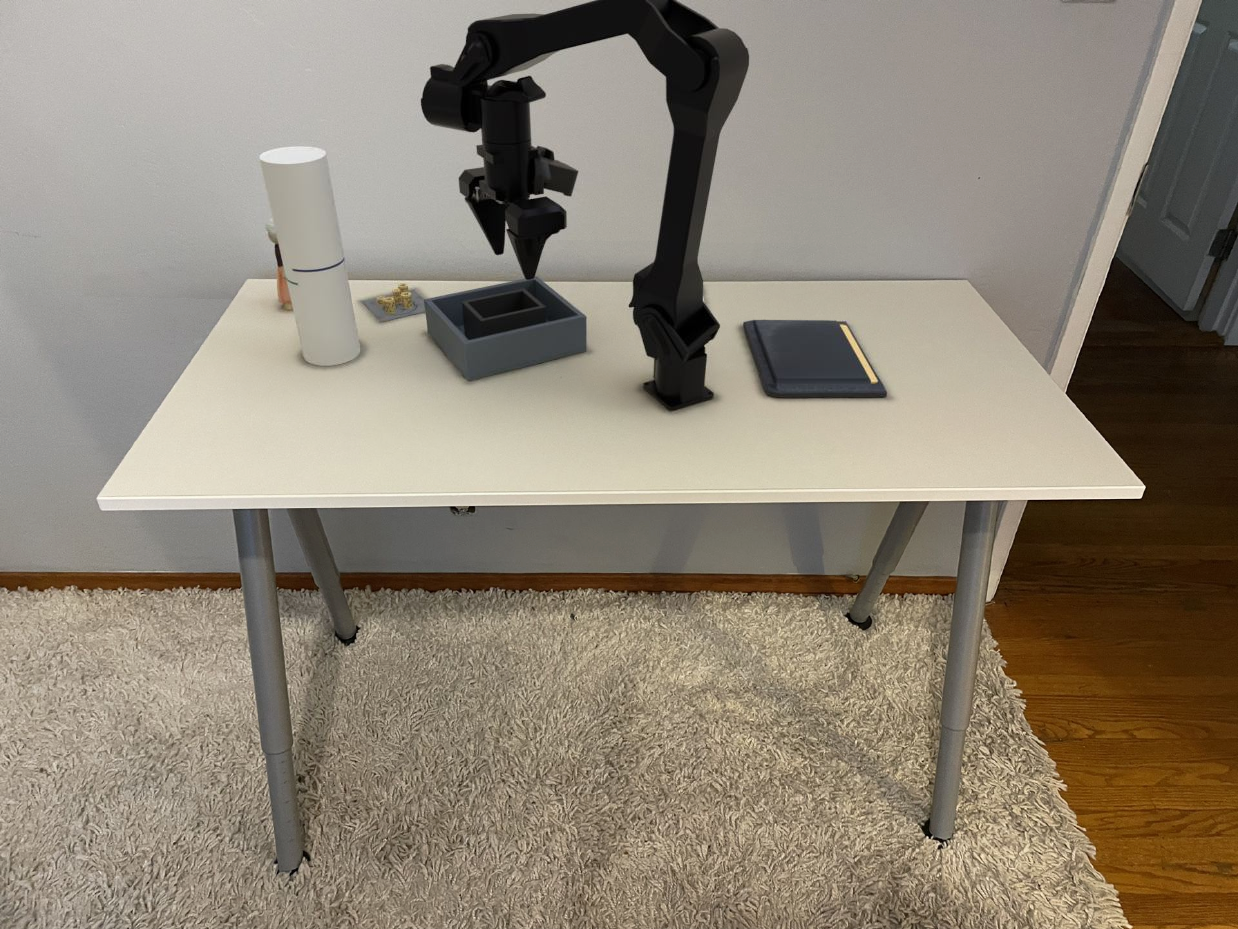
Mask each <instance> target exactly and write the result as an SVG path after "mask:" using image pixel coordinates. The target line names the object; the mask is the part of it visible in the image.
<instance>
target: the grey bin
mask: <svg viewBox="0 0 1238 929" xmlns="http://www.w3.org/2000/svg"><path fill="white" fill-rule="evenodd" d="M520 289H525V290H527V291H528V292H529V293H530V294H531V295H532V296H534V297H535V298H536V299H537V300H538V301H539V302H541V303H542V304H543V305H544V306H545V307H546V323H542V324H538V325H533V326H529V327H525V328H520V329H516V330H512V331H507V332H503V333H499V334H494V335H490V336H485V337H481V338H477V339H472V340H468V339H467V337H466V336H465V331H464V321H463V310H462V301H467V300H472V299H476V298H481V297H486V296H491V295H496V294H500V293H505V292H510V291H515V290H520ZM423 299H424V305H425V312H424V313H425V320H426V328H427V335H428V336H429V337H430V338H431V339H432V340H433V342H434V343H435V345H437V346H438V347H439V349H440V350H441V351H442V352H443V353H444V354H445V355H446V357H447V358H448V359H449V360H450V361H451V362H452V364H453V365H454V366H455V368H456V369H458V371H459V372H460V373H461V375H463V376H464V378H465V379H466V380H467V381H468V382H471V381H474V380H478V379H482V378H486V377H490V376H494V375H498V374H503V373H507V372H510V371H515V370H518V369H522V368H527V367H530V366H534V365H538V364H542V363H545V362H550V361H554V360H558V359H561V358H566V357H570V356H574V355H579V354H583V353H586V352H587V350H588V348H587V315H586V314H585V313H583V312H582V311H581V310H579V309H578V308H577V307H576V306H574V305H573V304H572V303H571V302H570V301H568V300H567V299H566V298H564V297H563V296H562V295H561V294H559V292H557V291H556V290H554V289H553V287H551V286H549V285H548V284H547V283H546V282H544V280H542V279H541V278H540V277H539V276H537V275H535V278H534V279H531V280H526V279H525V278H522V279H517V280H511V281H507V282H502V283H496V284H492V285H488V286H483V287H477V288H472V289H468V290H463V291H458V292H453V293H448V294H444V295H443V294H442V295H438V296H432V297H429V298H423Z"/></svg>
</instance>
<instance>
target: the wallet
mask: <svg viewBox="0 0 1238 929" xmlns="http://www.w3.org/2000/svg"><path fill="white" fill-rule="evenodd" d="M742 328H743V331H744V334H745V337H746V340H747V343H748V345H749V348H750V351H751V353H752V356H753V359H754V362H755V364H756V368H757V372H758V374H759V378H760V382H761V385H762V388H763V390H764V392H765V394H766V395H767V396H771V397H775V398H887V396H888V392H887V390H886V389H887V388H886V387H885V385H884V383H883V382H882V379H880V377H879V376H878V374H877V373H876V371H875V369H874V367H873V365H872V364H871V362H870V361H869V358H868V357H867V355H866V353H865V351H864V350H863V348H862V347H861V345H860V343H859V341H858V340H857V337H856V336H855V334H854V333H853V331H852V329H851V328H850V326H849V323H848V322H847V321H846V320H845V321H843V320H842V321H841V320H839V321H837V320H831V319H830V320H828V319H826V320H825V319H824V320H823V319H751V320H746V321H743V324H742Z"/></svg>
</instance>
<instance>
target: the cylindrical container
mask: <svg viewBox="0 0 1238 929" xmlns="http://www.w3.org/2000/svg"><path fill="white" fill-rule="evenodd" d="M258 157H259V162H260V167H261V172H262V176H263V181H264V185H265V189H266V193H267V198H268V203H269V208H270V212H271V218H272V217H273V221H274V226H275V230H276V235H277V239H278V244H279V248H280V253H281V257H282V262H283V266H284V271H285V275H286V280H287V284H288V289H289V293H290V298H291V302H292V307H293V310H292V311H293V315H294V320H295V325H296V329H297V334H298V338H299V343H300V347H301V352H302V356H303V359H304V361H305V362H307V363H309V364H310V365H314V366H318V367H319V366H320V367H330V366H331V367H332V366H338V365H343V364H345V363H349V362H351V361H353V360H355V359H356V358H357V357H358V356H360V354H361V351H362V350H361V344H360V343H361V342H360V339H359V338H360V337H359V332H358V327H357V321H356V315H355V310H354V303H353V299H352V292H351V286H350V281H349V276H348V270H347V265H346V258H345V253H344V247H343V242H342V235H341V231H340V225H339V224H340V223H339V219H338V214H337V209H336V203H335V196H334V191H333V185H332V178H331V174H330V168H329V162H328V157H327V152H326V150H324V149H322V148H320V147H315V146H306V145H295V146H294V145H293V146H284V147H283V146H282V147H277V148H272V149H269V150H265V151H264V152H262V153H261V154H259V156H258Z"/></svg>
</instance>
